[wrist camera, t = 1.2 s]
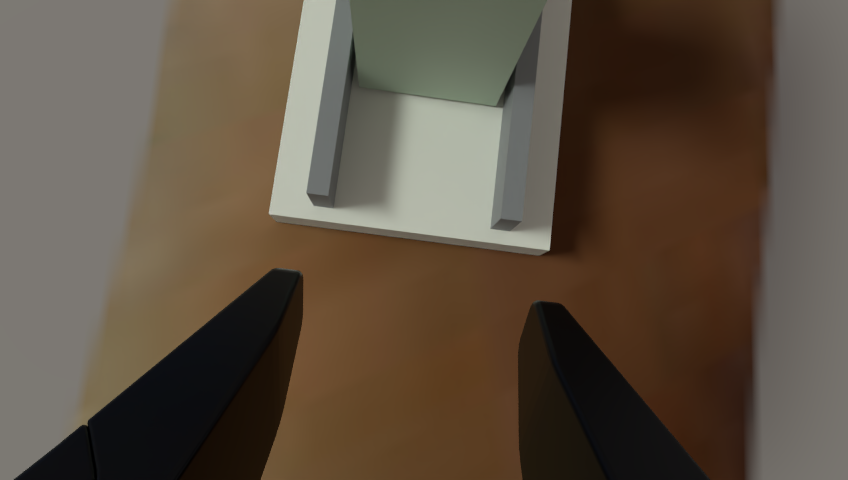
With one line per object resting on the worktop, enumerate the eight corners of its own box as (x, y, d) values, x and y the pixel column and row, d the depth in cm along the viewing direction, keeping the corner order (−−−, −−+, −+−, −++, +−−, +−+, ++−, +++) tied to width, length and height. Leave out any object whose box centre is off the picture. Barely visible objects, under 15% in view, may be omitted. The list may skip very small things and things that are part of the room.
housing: (539, 255, 23) (592, 229, 17) (276, 221, 23) (237, 183, 17) (573, -118, 25) (630, -254, 19) (337, -155, 25) (322, -305, 19)
